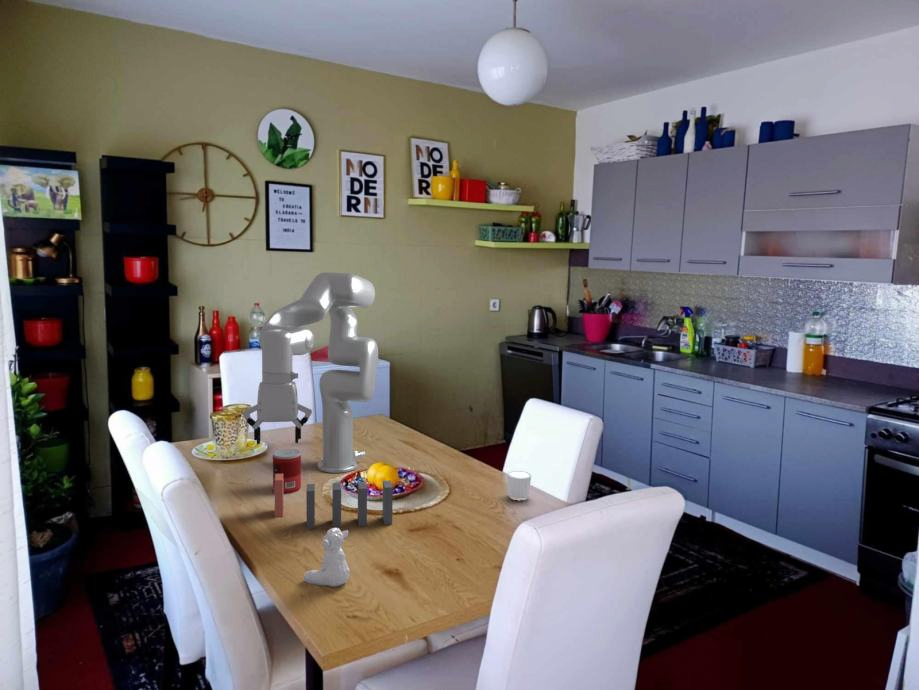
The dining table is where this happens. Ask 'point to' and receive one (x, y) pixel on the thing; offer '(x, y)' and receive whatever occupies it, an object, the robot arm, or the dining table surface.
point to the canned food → (288, 469)
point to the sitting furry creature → (331, 561)
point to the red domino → (279, 495)
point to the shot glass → (519, 484)
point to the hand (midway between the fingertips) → (277, 442)
